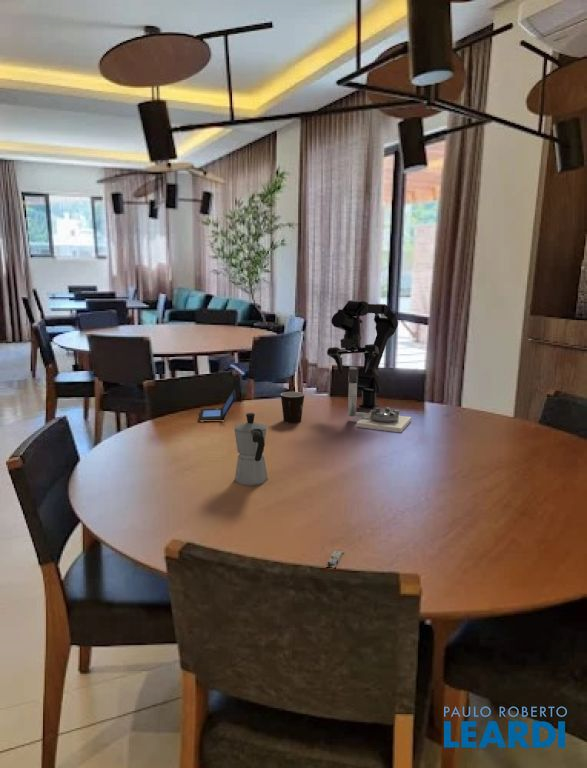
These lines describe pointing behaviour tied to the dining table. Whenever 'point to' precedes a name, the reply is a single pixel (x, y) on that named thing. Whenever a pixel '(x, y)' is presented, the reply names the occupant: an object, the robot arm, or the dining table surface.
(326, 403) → the dining table surface
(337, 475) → the dining table surface
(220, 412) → the handheld game console
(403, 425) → the base plate
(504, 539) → the dining table surface
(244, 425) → the coffee maker
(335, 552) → the granola bar
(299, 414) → the dark brown coffee cup
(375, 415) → the grey l-shaped piece
